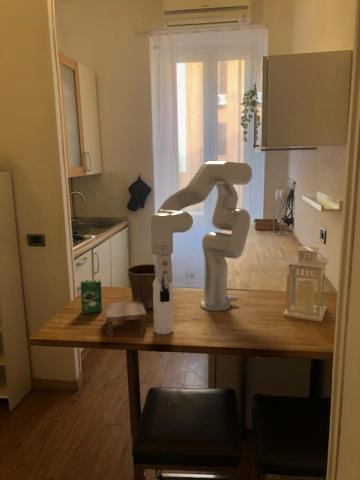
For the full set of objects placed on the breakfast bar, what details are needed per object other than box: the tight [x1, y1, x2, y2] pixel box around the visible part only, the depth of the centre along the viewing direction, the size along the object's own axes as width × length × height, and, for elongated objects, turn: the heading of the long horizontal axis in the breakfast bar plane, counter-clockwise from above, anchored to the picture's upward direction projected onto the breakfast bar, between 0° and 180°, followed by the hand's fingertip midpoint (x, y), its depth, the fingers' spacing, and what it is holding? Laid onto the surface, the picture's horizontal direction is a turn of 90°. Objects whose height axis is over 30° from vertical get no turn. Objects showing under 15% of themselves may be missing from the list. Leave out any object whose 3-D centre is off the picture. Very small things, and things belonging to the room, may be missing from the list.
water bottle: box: [152, 277, 174, 335], centre depth 135 cm, size 7×7×25 cm
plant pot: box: [126, 263, 155, 311], centre depth 161 cm, size 16×16×16 cm
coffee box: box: [80, 279, 103, 315], centre depth 155 cm, size 8×3×13 cm, turn 110°
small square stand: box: [104, 300, 147, 337], centre depth 141 cm, size 14×14×7 cm
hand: (162, 297), depth 135 cm, fingers closed on water bottle, 6 cm apart
